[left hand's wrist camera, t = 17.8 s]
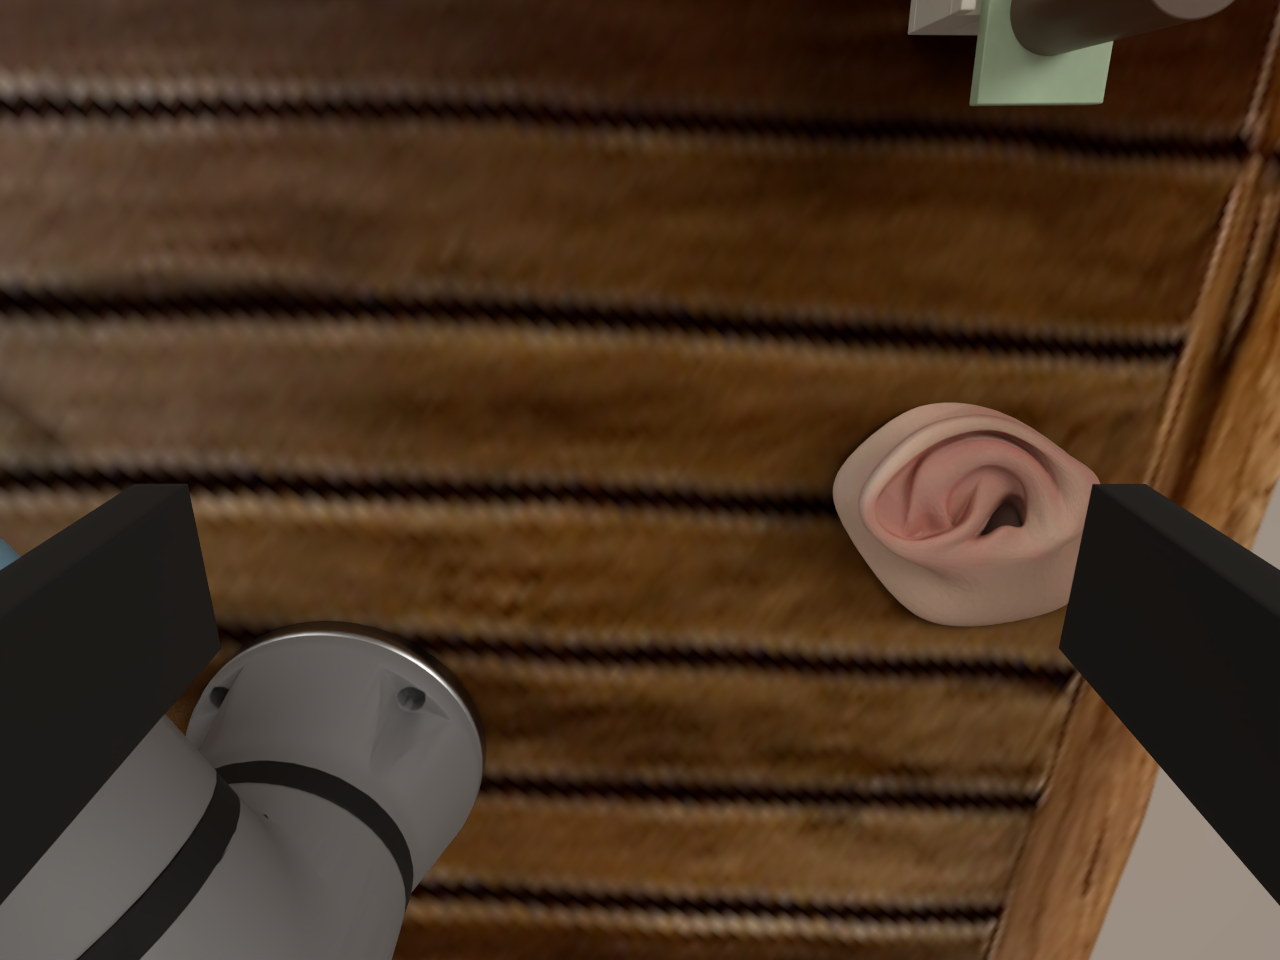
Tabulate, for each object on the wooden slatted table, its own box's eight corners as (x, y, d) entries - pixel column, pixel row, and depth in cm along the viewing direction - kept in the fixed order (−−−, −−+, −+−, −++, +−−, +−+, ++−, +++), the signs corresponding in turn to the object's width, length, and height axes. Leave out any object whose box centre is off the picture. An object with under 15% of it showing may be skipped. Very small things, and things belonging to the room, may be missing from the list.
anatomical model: (1171, 618, 38) (933, 714, 40) (1124, 578, 42) (908, 667, 44) (1088, 364, 34) (827, 483, 36) (1044, 344, 38) (809, 453, 40)
